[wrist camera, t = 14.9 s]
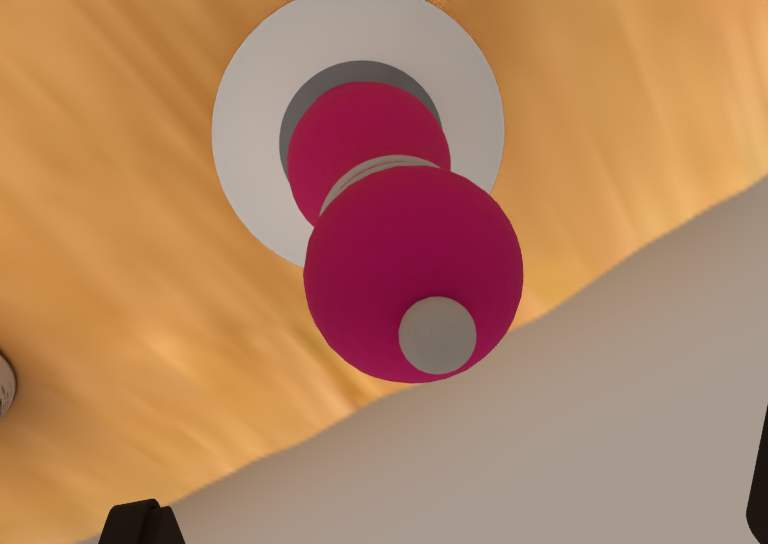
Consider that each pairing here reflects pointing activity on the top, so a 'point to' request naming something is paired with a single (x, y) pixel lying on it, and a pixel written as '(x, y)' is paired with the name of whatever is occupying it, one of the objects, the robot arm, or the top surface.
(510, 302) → the pepper mill
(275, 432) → the top surface
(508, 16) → the top surface
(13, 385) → the spray can
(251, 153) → the mount plate
